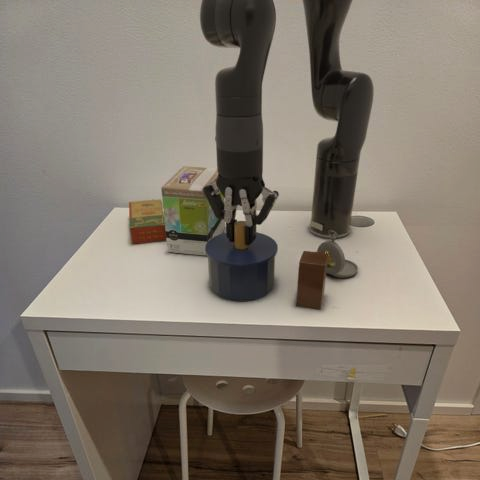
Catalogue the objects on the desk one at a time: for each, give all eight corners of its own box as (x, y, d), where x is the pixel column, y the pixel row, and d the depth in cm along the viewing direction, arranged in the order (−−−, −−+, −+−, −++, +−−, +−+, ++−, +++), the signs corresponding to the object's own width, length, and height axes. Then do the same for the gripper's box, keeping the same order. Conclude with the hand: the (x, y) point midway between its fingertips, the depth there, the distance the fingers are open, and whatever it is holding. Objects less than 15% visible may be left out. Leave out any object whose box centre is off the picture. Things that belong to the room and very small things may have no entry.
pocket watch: (359, 265, 90) (366, 220, 84) (353, 286, 84) (361, 238, 78) (319, 260, 92) (324, 215, 86) (311, 279, 86) (316, 232, 80)
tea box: (210, 257, 94) (206, 190, 85) (166, 253, 96) (158, 187, 87) (226, 228, 106) (224, 166, 97) (187, 225, 108) (181, 164, 99)
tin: (216, 266, 91) (214, 233, 86) (276, 269, 89) (277, 236, 85) (204, 299, 81) (201, 263, 77) (270, 303, 79) (271, 267, 75)
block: (300, 293, 82) (303, 250, 77) (323, 296, 81) (328, 253, 76) (295, 306, 79) (299, 262, 73) (320, 309, 78) (325, 265, 72)
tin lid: (213, 234, 87) (211, 207, 84) (279, 238, 86) (281, 210, 82) (198, 267, 77) (196, 238, 73) (274, 272, 75) (275, 242, 72)
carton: (163, 214, 114) (161, 198, 111) (168, 240, 101) (166, 223, 98) (130, 217, 112) (128, 201, 110) (131, 244, 100) (128, 227, 97)
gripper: (288, 141, 70) (283, 239, 80) (210, 134, 75) (215, 227, 85) (272, 153, 65) (269, 257, 75) (189, 145, 69) (197, 244, 79)
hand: (241, 241), depth 80 cm, fingers closed on tin lid, 2 cm apart
